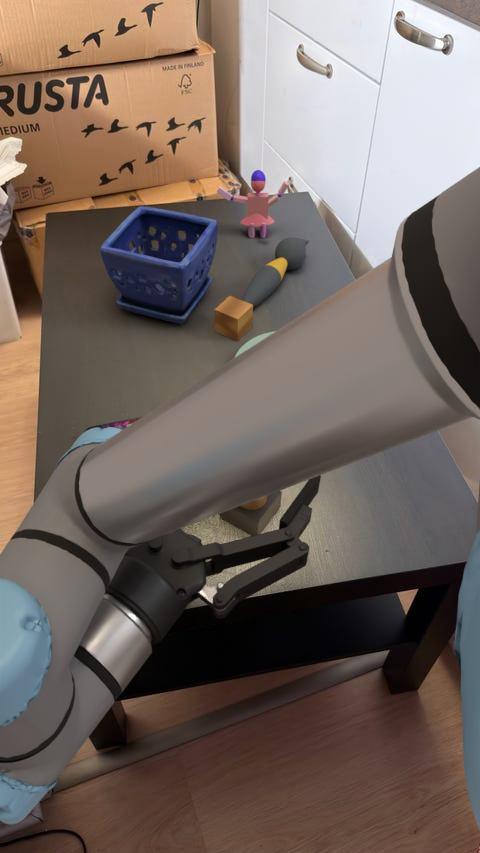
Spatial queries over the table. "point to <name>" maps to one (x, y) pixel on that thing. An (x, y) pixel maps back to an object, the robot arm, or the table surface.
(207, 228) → the flower pot
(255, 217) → the figurine
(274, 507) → the brush
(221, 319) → the wooden cube
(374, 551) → the table surface
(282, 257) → the paintbrush
